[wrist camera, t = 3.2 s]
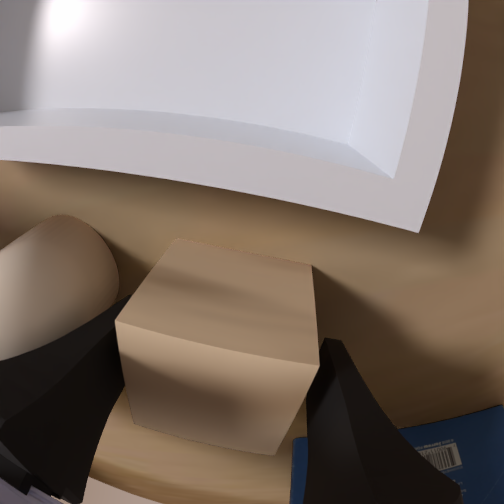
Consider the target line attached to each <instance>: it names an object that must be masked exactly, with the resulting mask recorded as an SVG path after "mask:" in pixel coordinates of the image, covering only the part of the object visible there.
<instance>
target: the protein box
mask: <svg viewBox="0 0 504 504" xmlns="http://www.w3.org/2000/svg"><path fill="white" fill-rule="evenodd" d="M397 430H398V431H399V432H400V433H401V434H402V436H403V437H404V438H405V439H406V440H407V441H408V442H409V443H410V444H411V445H412V446H413V447H414V448H415V449H416V450H417V451H418V452H419V453H420V454H421V455H422V456H423V457H424V458H425V459H426V460H427V461H429V462H430V463H431V464H432V465H433V466H434V467H436V468H437V469H438V470H439V471H441V472H442V473H443V474H445V475H446V476H447V477H449V478H450V479H452V480H453V481H454V482H456V483H457V484H459V485H460V488H461V492H462V497H463V502H464V504H504V407H503V405H499V406H496V407H493V408H490V409H486V410H483V411H479V412H476V413H472V414H468V415H465V416H461V417H457V418H453V419H448V420H444V421H439V422H435V423H429V424H425V425H420V426H414V427H408V428H403V429H397ZM307 464H308V438H296V439H294V440H293V453H292V472H291V490H290V501H289V504H303V498H304V491H305V484H306V474H307Z"/></svg>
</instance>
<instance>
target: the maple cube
mask: <svg viewBox="0 0 504 504" xmlns="http://www.w3.org/2000/svg"><path fill="white" fill-rule="evenodd" d="M115 326H116V333H117V340H118V347H119V353H120V359H121V365H122V370H123V376H124V381H125V386H126V391H127V396H128V400H129V405H130V409H131V414H132V418H133V422H134V424H136V425H139V426H142V427H145V428H149V429H152V430H155V431H158V432H162V433H165V434H169V435H172V436H176V437H180V438H184V439H188V440H192V441H196V442H200V443H204V444H209V445H213V446H218V447H223V448H228V449H233V450H239V451H244V452H250V453H257V454H263V455H271V456H274V455H275V453H276V451H277V449H278V448H279V446H280V444H281V442H282V440H283V439H284V437H285V435H286V433H287V431H288V429H289V427H290V425H291V423H292V422H293V420H294V418H295V416H296V414H297V412H298V410H299V408H300V406H301V404H302V402H303V400H304V398H305V396H306V394H307V392H308V390H309V388H310V385H311V383H312V381H313V379H314V377H315V375H316V373H317V371H318V368H319V366H320V363H319V348H318V334H317V321H316V309H315V298H314V287H313V277H312V267H311V265H310V264H305V263H300V262H295V261H290V260H285V259H280V258H275V257H270V256H265V255H260V254H255V253H250V252H245V251H240V250H235V249H230V248H225V247H220V246H215V245H210V244H205V243H200V242H195V241H190V240H185V239H180V238H176V239H175V240H174V241H173V242H172V244H171V245H170V246H169V248H168V249H167V250H166V251H165V253H164V254H163V255H162V257H161V258H160V259H159V261H158V262H157V263H156V265H155V266H154V267H153V268H152V270H151V271H150V272H149V274H148V275H147V276H146V278H145V279H144V281H143V282H142V283H141V285H140V286H139V287H138V289H137V290H136V291H135V293H134V294H133V296H132V297H131V298H130V300H129V301H128V302H127V304H126V305H125V307H124V308H123V309H122V311H121V312H120V314H119V315H118V316H117V318H116V319H115Z"/></svg>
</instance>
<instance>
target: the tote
mask: <svg viewBox="0 0 504 504" xmlns="http://www.w3.org/2000/svg"><path fill="white" fill-rule="evenodd" d="M468 1H469V0H0V160H12V161H24V162H35V163H46V164H56V165H65V166H74V167H83V168H91V169H99V170H107V171H115V172H122V173H130V174H137V175H143V176H150V177H157V178H163V179H170V180H176V181H182V182H188V183H194V184H200V185H205V186H211V187H217V188H222V189H228V190H233V191H238V192H244V193H249V194H254V195H259V196H264V197H269V198H274V199H279V200H283V201H288V202H293V203H298V204H302V205H307V206H311V207H316V208H320V209H325V210H329V211H333V212H338V213H342V214H346V215H350V216H354V217H358V218H363V219H367V220H371V221H375V222H379V223H383V224H386V225H390V226H394V227H398V228H402V229H405V230H409V231H413V232H417V233H419V230H420V228H421V225H422V222H423V219H424V217H425V214H426V211H427V208H428V205H429V202H430V199H431V196H432V193H433V190H434V186H435V183H436V180H437V176H438V173H439V170H440V166H441V163H442V159H443V155H444V152H445V148H446V144H447V140H448V136H449V132H450V128H451V123H452V119H453V114H454V110H455V105H456V100H457V95H458V89H459V83H460V77H461V71H462V64H463V57H464V49H465V41H466V31H467V18H468Z"/></svg>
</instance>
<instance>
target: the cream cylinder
mask: <svg viewBox="0 0 504 504" xmlns="http://www.w3.org/2000/svg"><path fill="white" fill-rule="evenodd" d="M118 290H119V273H118V269H117V265H116V262H115V260H114V257H113V255H112V253H111V251H110V249H109V248H108V246H107V244H106V243H105V242H104V240H103V239H102V238H101V237H100V235H99V234H98V233H97V232H96V231H95V230H94V229H93V228H92V227H90V226H89V225H88V224H86V223H85V222H83V221H81V220H80V219H77V218H75V217H72V216H69V215H55V216H51V217H49V218H47V219H46V220H44V221H43V222H41V223H40V224H38V225H37V226H35V227H33V228H32V229H30V230H29V231H27V232H26V233H25V234H23V235H22V236H20V237H19V238H17V239H16V240H14V241H13V242H11V243H10V244H9V245H7V246H6V247H4V248H3V249H2V250H0V361H1V360H5V359H8V358H12V357H15V356H18V355H20V354H23V353H26V352H29V351H31V350H34V349H37V348H39V347H41V346H44V345H46V344H48V343H50V342H52V341H54V340H56V339H58V338H60V337H62V336H64V335H66V334H68V333H70V332H71V331H73V330H75V329H76V328H78V327H80V326H82V325H83V324H85V323H87V322H88V321H90V320H91V319H93V318H95V317H96V316H98V315H99V314H101V313H102V312H104V311H105V310H107V309H108V308H109V307H110V306H111V304H112V303H113V302H114V301H115V299H116V297H117V294H118Z"/></svg>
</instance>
